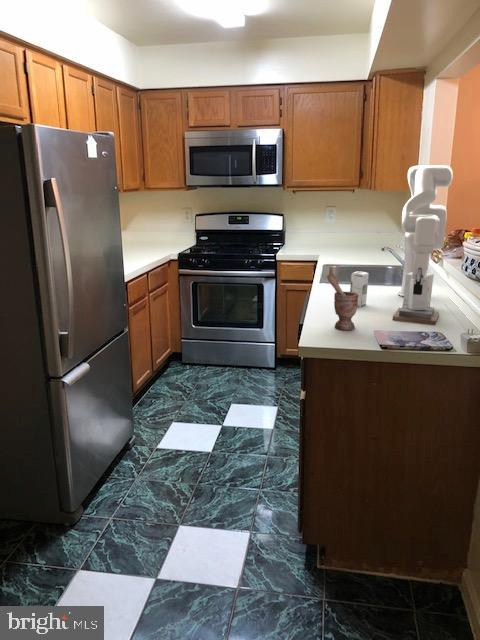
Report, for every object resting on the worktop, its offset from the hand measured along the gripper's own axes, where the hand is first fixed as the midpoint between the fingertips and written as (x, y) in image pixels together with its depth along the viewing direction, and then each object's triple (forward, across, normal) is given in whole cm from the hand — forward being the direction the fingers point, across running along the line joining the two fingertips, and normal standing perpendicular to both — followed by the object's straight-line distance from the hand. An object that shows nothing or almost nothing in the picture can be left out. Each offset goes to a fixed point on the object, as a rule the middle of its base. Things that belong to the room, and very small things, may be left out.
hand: (418, 291), depth 204 cm
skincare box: (+7, +1, 0) cm, 7 cm away
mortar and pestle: (+10, +29, -24) cm, 39 cm away
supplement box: (+11, -17, -2) cm, 21 cm away
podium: (+10, +1, 0) cm, 11 cm away
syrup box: (+11, -10, -26) cm, 30 cm away
